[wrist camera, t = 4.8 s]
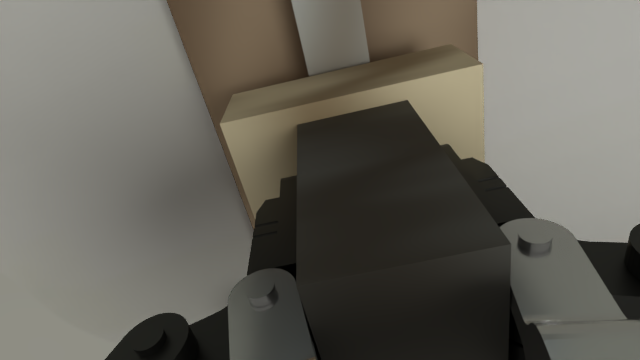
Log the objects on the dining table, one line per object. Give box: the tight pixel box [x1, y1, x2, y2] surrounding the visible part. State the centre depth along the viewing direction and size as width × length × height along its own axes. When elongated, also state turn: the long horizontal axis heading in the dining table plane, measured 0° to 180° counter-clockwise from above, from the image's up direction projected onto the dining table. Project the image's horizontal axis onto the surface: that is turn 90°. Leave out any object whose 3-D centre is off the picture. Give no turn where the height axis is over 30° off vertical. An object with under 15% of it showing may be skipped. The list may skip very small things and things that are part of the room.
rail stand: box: [167, 0, 478, 229], centre depth 14 cm, size 10×28×8 cm, turn 12°
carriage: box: [220, 44, 511, 360], centre depth 10 cm, size 7×5×8 cm
